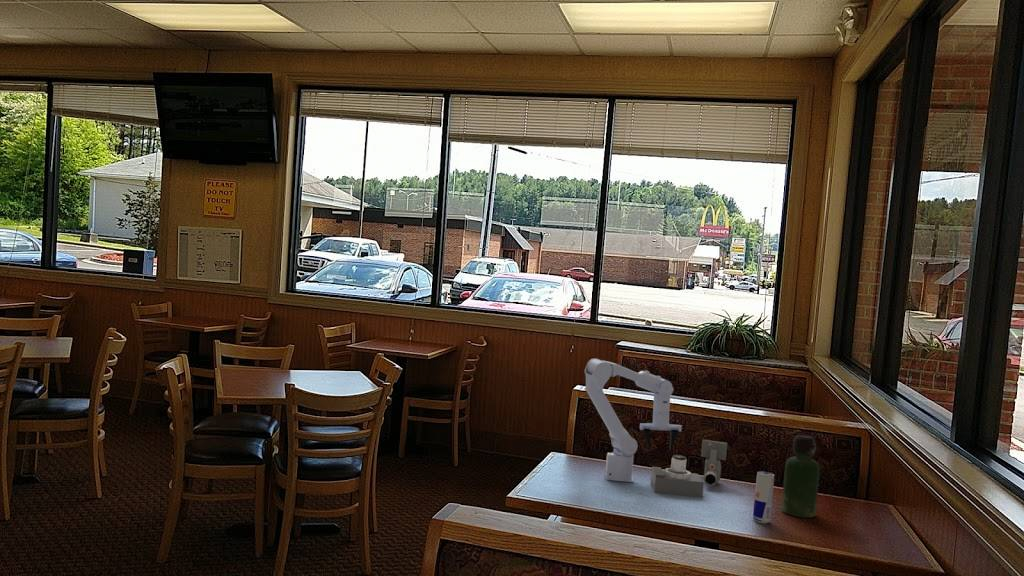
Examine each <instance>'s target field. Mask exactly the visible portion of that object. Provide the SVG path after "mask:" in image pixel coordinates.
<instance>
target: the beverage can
mask: <svg viewBox="0 0 1024 576" xmlns="http://www.w3.org/2000/svg"><path fill="white" fill-rule="evenodd" d="M755 480H756V481H755V488H754V489H755V491H754V501H753V513H752V519H753V520H754V521H755V522H756V523H758V524H759V523H760V524H768V523H769V522H770V521H771V517H772V515H771V514H772V506H773V505H772V504H773V494H774V486H775V484H774V483H775V474H774V473H772V472H767V471H757V474H756V479H755Z"/></svg>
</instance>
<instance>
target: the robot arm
mask: <svg viewBox="0 0 1024 576" xmlns="http://www.w3.org/2000/svg"><path fill="white" fill-rule="evenodd" d="M584 374H585V375H584V376H585V391H586V393H587V395H588V397H589V398H590V400H591V402H592V403H593V405H594V407H595V409H596V410H597V413H598V414H599V416H600V418H601V419H602V421H603V423H604V424H605V426H606V428H607V430H608V432H609V434H608V435H609V437H610V440H611V446H612V447H613V451H612V452H607V453H606V462H605V469H604V476H605V479H606V481H615V482H623V483H624V482H625V483H634V482H635V481H634V478H633V468H634V467H633V466H634V457H635V455H634V454H636V452H637V450H638V447H639V445H638V441H637V440H636V439H635V438H633V437H632V436H631V435H630V434H629V433H630V432H628V430H627V429H626V428H624V426H623V424H622V422H621V421H620V419H619V417H618V415H617V414H616V412H615V410H614V408H613V407H612V405H611V403H610V401H609V399H608V398H607V396H606V394H605V392H604V391H603V389H604V387H605V385H606V383H607V382H608V381H609V380H610V378H611V377H612V378H613V377H616V376H619V377H622V378H625V379H628V380H631V381H634V383H635V386H636V387H639V388H642V389H644V390H647V391H649V392H652V393H653V403H652V404H653V408H652V409H653V410H652V422H650V423H649V422H647V423H644V422H643V423H642V422H641V423H639V430H640V431H642V432H643V434H644V438H645V442H646V446H647V448H646V449H647V451H651V437H652V435H651V434H652V432H651V431H666V432H667V431H668V432H669V445H668V450H669V452H673V448H674V445H675V442H676V440H677V438H678V436H679V432H680V433H681V432H682V427H683V426H682V425H681V424H672V423H670V407H671V405H670V404H671V396H672V394H673V393H674V391H675V389H674V387H673V383H672V382H671V381H669V380H667V379H665V378H662V376H660V375H654V374H653V373H650V371H649V370H647V369H646V370H640V371H639V372H636V371H633V370H632V369H630V368H627V367H624V366H622V365H620V364H618V363H614V362H612V361H608V360H607V361H606V360H603V359H602V360H601V359H599V358H591V359H590V360H588V361H587V364H586V366H585V369H584Z"/></svg>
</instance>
